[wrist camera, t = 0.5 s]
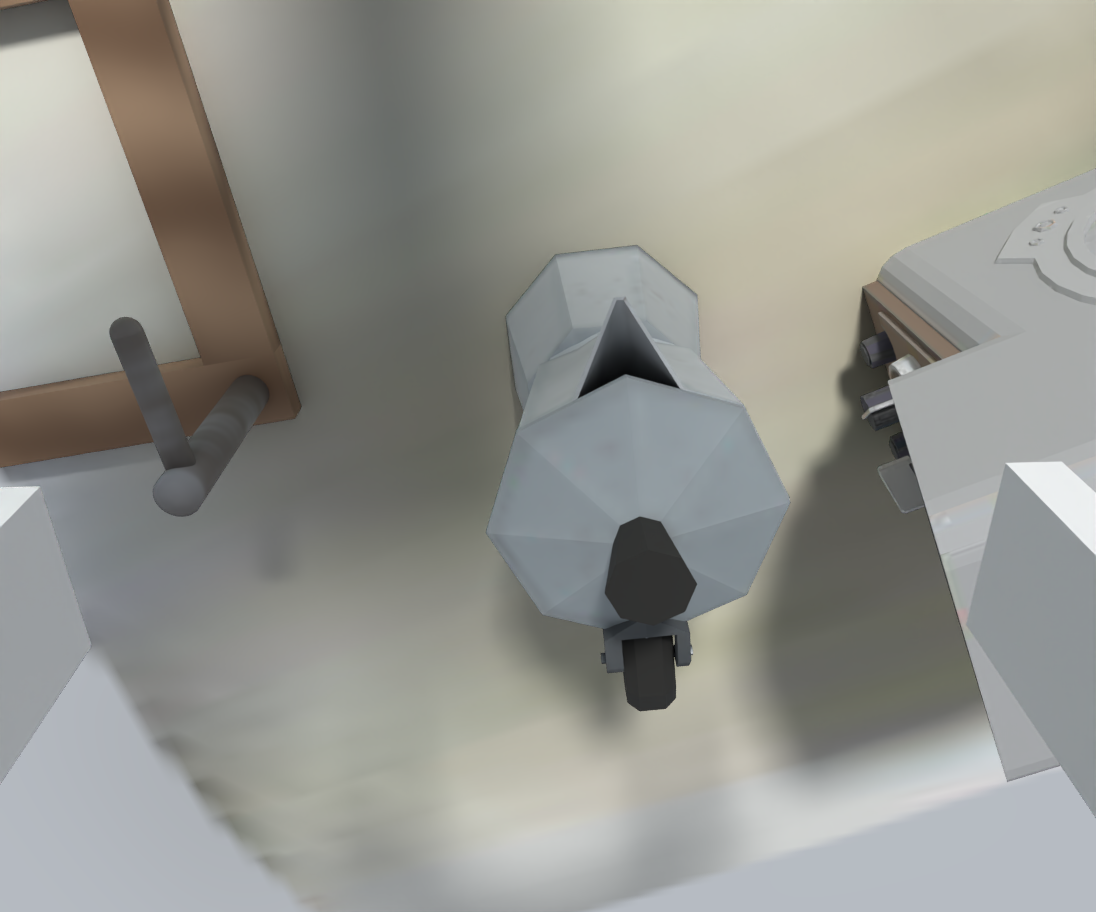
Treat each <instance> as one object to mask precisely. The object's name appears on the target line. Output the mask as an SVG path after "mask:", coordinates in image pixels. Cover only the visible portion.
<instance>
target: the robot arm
mask: <svg viewBox="0 0 1096 912" xmlns="http://www.w3.org/2000/svg"><path fill="white" fill-rule="evenodd" d="M966 625H967V627H968V628H969V630H970V631H971V633H972V634H973V636H974V637H975V638H976V640H977V641H978V643H979V644H980V646H981V647H982V649H983V650H984V652H985V653H986V655H987V656H988V658H989V659H990V661H991V662H992V664H993V665H994V667H995V668H996V670H997V671H998V673H999V674H1000V676H1001V677H1002V679H1003V680H1004V682H1005V683H1006V685H1007V686H1008V688H1009V689H1010V691H1011V692H1012V694H1013V695H1014V697H1015V698H1016V700H1017V701H1018V703H1019V704H1020V706H1021V707H1022V709H1023V710H1024V712H1025V713H1026V715H1027V716H1028V718H1029V719H1030V721H1031V722H1032V724H1033V725H1034V727H1035V728H1036V730H1037V731H1038V733H1039V734H1040V736H1041V737H1042V739H1043V740H1044V742H1045V743H1046V745H1047V746H1048V748H1049V749H1050V751H1051V752H1052V754H1053V755H1054V756H1055V758H1056V759H1057V761H1058V762H1059V764H1060V765H1061V767H1062V768H1063V770H1064V771H1065V773H1066V774H1067V776H1068V777H1069V779H1070V780H1071V782H1072V783H1073V785H1074V786H1075V788H1076V789H1077V791H1078V792H1079V794H1080V795H1081V797H1082V798H1083V800H1084V801H1085V803H1086V804H1087V806H1088V807H1089V809H1090V810H1091V812H1092V813H1093V815H1094V816H1095V818H1096V492H1094V491H1093V490H1092V489H1091V488H1090V487H1089V486H1088V485H1087V484H1086V483H1085V482H1084V481H1082V480H1081V479H1080V478H1079V477H1078V476H1077V475H1076V474H1075V473H1074V472H1073V471H1072V470H1070V469H1069V468H1068V467H1067V466H1066V465H1065V464H1064V463H1063V462H1062V461H1061V462H1020V463H1005V467H1004V471H1003V475H1002V479H1001V483H1000V488H999V492H998V496H997V500H996V504H995V508H994V512H993V516H992V520H991V524H990V528H989V533H988V537H987V541H986V545H985V549H984V553H983V557H982V561H981V565H980V569H979V573H978V578H977V582H976V586H975V590H974V594H973V598H972V602H971V606H970V610H969V614H968V618H967V623H966ZM91 647H92V645H91V642H90V639H89V636H88V632H87V629H86V626H85V623H84V620H83V617H82V614H81V611H80V608H79V605H78V602H77V598H76V595H75V592H74V589H73V586H72V583H71V580H70V577H69V574H68V571H67V568H66V564H65V561H64V558H63V555H62V552H61V549H60V546H59V543H58V540H57V537H56V534H55V530H54V527H53V524H52V521H51V518H50V515H49V512H48V509H47V506H46V503H45V500H44V496H43V493H42V490H41V487H40V486H32V487H0V784H1V783H2V781H3V780H4V778H5V777H6V775H7V774H8V772H9V770H10V769H11V768H12V766H13V765H14V763H15V762H16V760H17V759H18V757H19V756H20V754H21V752H22V751H23V749H24V748H25V747H26V745H27V744H28V742H29V741H30V739H31V737H32V736H33V734H34V733H35V731H36V730H37V728H38V727H39V725H40V724H41V722H42V721H43V719H44V718H45V716H46V715H47V713H48V712H49V710H50V709H51V707H52V705H53V704H54V703H55V701H56V700H57V698H58V697H59V695H60V694H61V692H62V691H63V689H64V688H65V686H66V684H67V683H68V682H69V680H70V679H71V677H72V675H73V674H74V672H75V671H76V669H77V668H78V666H79V665H80V663H81V662H82V660H83V659H84V657H85V656H86V654H87V653H88V651H89V650H90V648H91Z"/></svg>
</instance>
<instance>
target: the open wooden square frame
mask: <svg viewBox="0 0 1096 912" xmlns="http://www.w3.org/2000/svg"><path fill="white" fill-rule="evenodd" d="M42 1H47V0H0V10H3V9H8V8H13V7H18V6H23V5H28V4H32V3H37V2H42ZM68 2H69V5H70V7H71V10H72V13H73V15H74V18H75V21H76V24H77V26H78V29H79V32H80V34H81V37H82V40H83V42H84V45H85V48H86V50H87V53H88V56H89V58H90V61H91V64H92V67H93V69H94V72H95V75H96V77H97V80H98V83H99V85H100V88H101V91H102V93H103V96H104V99H105V101H106V104H107V107H108V109H109V112H110V115H111V118H112V120H113V123H114V126H115V128H116V131H117V134H118V136H119V139H120V142H121V144H122V147H123V150H124V152H125V155H126V158H127V160H128V163H129V166H130V169H131V171H132V174H133V177H134V179H135V182H136V185H137V187H138V190H139V193H140V195H141V198H142V201H143V203H144V206H145V209H146V211H147V214H148V217H149V220H150V222H151V225H152V228H153V230H154V233H155V236H156V238H157V241H158V244H159V246H160V249H161V252H162V254H163V257H164V260H165V263H166V265H167V268H168V271H169V273H170V276H171V279H172V281H173V284H174V287H175V289H176V292H177V295H178V297H179V300H180V303H181V305H182V308H183V311H184V314H185V316H186V319H187V322H188V324H189V327H190V330H191V332H192V335H193V338H194V340H195V343H196V346H197V348H198V351H199V354H200V356H201V358H195V359H189V360H184V361H178V362H172V363H166V364H160V365H157V362H156V360H155V357H154V355H153V352H152V350H151V347H150V345H149V342H148V340H147V337H146V335H145V332H144V330H143V328H142V326H141V324H140V323H139V322H138V321H137V320H135V319H133V318H129V317H122V318H119V319H117V320H115V321H114V322H113V323H112V325H111V327H110V331H109V332H110V337H111V340H112V342H113V345H114V347H115V350H116V352H117V354H118V357H119V359H120V362H121V364H122V366H123V369H124V371H120V372H114V373H108V374H102V375H96V376H91V377H85V378H79V379H73V380H67V381H61V382H56V383H50V384H44V385H38V386H32V387H27V388H21V389H15V390H9V391H3V392H0V468H1V467H7V466H13V465H19V464H25V463H31V462H37V461H43V460H49V459H55V458H61V457H67V456H73V455H79V454H85V453H91V452H97V451H103V450H109V449H115V448H121V447H127V446H133V445H139V444H145V443H151V442H154V443H155V446H156V448H157V450H158V453H159V455H160V458H161V460H162V462H163V465H164V467H165V472H164V473H163V474H162V476H161V477H160V478H159V480H158V481H157V482H156V484H155V485H154V488H153V497H154V500H155V502H156V503H157V505H158V506H159V507H160V508H161V509H162V510H163V511H165V512H167V513H169V514H171V515H174V516H189V515H191V514H193V513H195V512H196V511H197V510H198V509H199V507H200V506H201V504H202V503H203V501H204V500H205V498H206V497H207V495H208V493H209V492H210V490H211V489H212V487H213V486H214V484H215V483H216V481H217V479H218V478H219V476H220V475H221V473H222V472H223V470H224V469H225V467H226V466H227V464H228V462H229V461H230V459H231V458H232V456H233V455H234V453H235V452H236V450H237V449H238V447H239V445H240V444H241V442H242V441H243V439H244V438H245V436H246V435H247V433H248V432H249V430H250V428H251V427H252V426H254V425H260V424H266V423H272V422H278V421H284V420H290V419H295V418H296V416H297V414H298V412H299V411H300V409H301V404H300V401H299V398H298V395H297V392H296V389H295V386H294V383H293V380H292V377H291V374H290V371H289V368H288V365H287V361H286V358H285V355H284V352H283V349H282V346H281V343H280V340H279V337H278V334H277V331H276V328H275V325H274V322H273V319H272V316H271V313H270V309H269V306H268V303H267V300H266V297H265V294H264V291H263V288H262V285H261V282H260V279H259V276H258V273H257V270H256V267H255V264H254V261H253V257H252V254H251V251H250V248H249V245H248V242H247V239H246V236H245V233H244V230H243V227H242V224H241V221H240V218H239V215H238V212H237V209H236V205H235V202H234V199H233V196H232V193H231V190H230V187H229V184H228V181H227V178H226V175H225V172H224V169H223V166H222V163H221V160H220V157H219V153H218V150H217V147H216V144H215V141H214V138H213V135H212V132H211V129H210V126H209V123H208V120H207V117H206V114H205V111H204V108H203V104H202V101H201V98H200V95H199V92H198V89H197V86H196V83H195V80H194V77H193V74H192V71H191V68H190V65H189V62H188V59H187V56H186V52H185V49H184V46H183V43H182V40H181V37H180V34H179V31H178V28H177V25H176V22H175V19H174V16H173V13H172V10H171V7H170V4H169V0H68ZM187 436H191V438H190V439H189V440H187V438H186V437H187Z"/></svg>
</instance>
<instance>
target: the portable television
mask: <svg viewBox="0 0 1096 912" xmlns="http://www.w3.org/2000/svg"><path fill="white" fill-rule="evenodd" d="M863 290H864V294H865V297H866V301H867V304H868V307H869V311H870V314H871V318H872V321H873V324H874V328H875V331H876V335H874V336H872V337H870V338H868V339H866V340H863V341H862V342H861V345H860V350H861V353H862V356H863V359H864V361H865V362H866V364H867V365H868V366H870V367H871V368H875V367H878V366H881V365H884V364H885V365H886V368H887V372H888V375H889V379H890V380H888V384H889V385H887V386H884V387H882V388H880V389H878V390H876V391H873V392H870V393H868V394H865V395H863V396H861V398H860V399H861V403H862V407H863V410H864V412H865V413H864V414H863V415H862V416H861V417H862V419H866V418H867V419H868V421H869V423H870V425H871V426H872V428H873V429H874V430H875V431H877V430H879V429H882V428H884V427H887V426H889V425H892V424H895V423H897V422H900V425H901V428H902V432H900V433H898V434H896V435H894V436H891V437H890V441H889V445H890V448H891V451H892V453H893V455H894V457H895V459H896V460H894V461H891V462H889V463H886V464H883V465H881V466H879V467H878V468H877V469H878V473H879V475H880V477H881V479H882V481H883V482H884V484H885V486H886V487H887V489H888V491H889V492H890V494H891V496H892V497H893V499H894V501H895V502H896V504H897V505H898V507H899V509H900V510H901V512H902V513H908V512H911V511H914V510H917V509H920V508H922V507H925V509H926V513H927V516H928V520H929V523H930V526H931V530H932V533H933V536H934V540H935V543H936V546H937V550H938V553H939V557H940V560H941V563H942V567H943V570H944V573H945V577H946V580H947V584H948V587H949V590H950V594H951V597H952V600H953V604H954V607H955V610H956V614H957V617H958V620H959V624H960V627H961V630H962V634H963V637H964V640H965V643H966V647H967V650H968V653H969V657H970V660H971V663H972V667H973V670H974V673H975V677H976V680H977V683H978V687H979V690H980V693H981V696H982V700H983V703H984V706H985V710H986V713H987V716H988V720H989V723H990V726H991V730H992V733H993V736H994V740H995V743H996V746H997V750H998V753H999V756H1000V759H1001V763H1002V766H1003V769H1004V773H1005V776H1006V779H1007V782H1008V781H1012V780H1015V779H1018V778H1022V777H1025V776H1028V775H1031V774H1035V773H1038V772H1041V771H1045V770H1048V769H1051V768H1054V767H1058V766H1061V765H1060V764H1059V762H1058V761H1057V759H1056V758H1055V756H1054V755H1053V754H1052V752H1051V751H1050V749H1049V748H1048V746H1047V745H1046V743H1045V742H1044V740H1043V739H1042V737H1041V736H1040V734H1039V733H1038V731H1037V730H1036V728H1035V727H1034V725H1033V724H1032V722H1031V721H1030V719H1029V718H1028V716H1027V715H1026V713H1025V712H1024V710H1023V709H1022V707H1021V706H1020V704H1019V703H1018V701H1017V700H1016V698H1015V697H1014V695H1013V694H1012V692H1011V691H1010V689H1009V688H1008V686H1007V685H1006V683H1005V682H1004V680H1003V679H1002V677H1001V676H1000V674H999V673H998V671H997V670H996V668H995V667H994V665H993V664H992V662H991V661H990V659H989V658H988V656H987V655H986V653H985V652H984V650H983V649H982V647H981V646H980V644H979V643H978V641H977V640H976V638H975V637H974V636H973V634H972V633H971V631H970V630H969V628H968V627H967V625H966V623H967V618H968V614H969V610H970V606H971V602H972V598H973V594H974V590H975V586H976V582H977V578H978V573H979V569H980V565H981V561H982V557H983V553H984V549H985V545H986V541H987V537H988V533H989V528H990V524H991V520H992V516H993V512H994V508H995V504H996V500H997V496H998V492H999V488H1000V483H1001V479H1002V475H1003V471H1004V467H1005V463H1020V462H1061V461H1062V462H1063V463H1064V464H1065V465H1066V466H1067V467H1068V468H1069V469H1070V470H1072V471H1073V472H1074V473H1075V474H1076V475H1077V476H1078V477H1079V478H1080V479H1081V480H1082V481H1084V482H1085V483H1086V484H1087V485H1088V486H1089V487H1090V488H1091V489H1092V490H1093V491H1094V492H1096V169H1093V170H1091V171H1088V172H1086V173H1084V174H1081V175H1079V176H1076V177H1074V178H1072V179H1069V180H1067V181H1064V182H1062V183H1060V184H1057V185H1055V186H1052V187H1050V188H1048V189H1045V190H1043V191H1040V192H1038V193H1036V194H1033V195H1031V196H1028V197H1026V198H1024V199H1021V200H1019V201H1016V202H1014V203H1012V204H1009V205H1007V206H1004V207H1002V208H1000V209H997V210H995V211H992V212H990V213H988V214H985V215H983V216H980V217H978V218H976V219H973V220H971V221H968V222H966V223H964V224H961V225H959V226H956V227H954V228H952V229H949V230H947V231H944V232H942V233H940V234H937V235H935V236H932V237H930V238H928V239H925V240H923V241H920V242H918V243H916V244H913V245H911V246H908V247H906V248H904V249H903V250H901V251H899V252H898V253H896V254H894V255H893V256H892V257H891V258H890V259H889V260H888V261H887V262H886V263H885V264H884V265H883V266H882V268H881V271H880V273H879V275H878V278H877V281H875V282H873V283H871V284H868V285H866V286H863Z"/></svg>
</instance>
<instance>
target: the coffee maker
mask: <svg viewBox="0 0 1096 912" xmlns="http://www.w3.org/2000/svg"><path fill="white" fill-rule="evenodd" d="M506 323H507V330H508V338H509V345H510V352H511V359H512V366H513V373H514V381H515V388H516V391H517V394H518V397H519V400H520V402H521V405H522V408H523V411H524V412H523V415H522V418H521V421H520V424H519V427H518V429H517V430H516V433H515V437H514V440H513V443H512V446H511V450H510V453H509V456H508V460H507V463H506V466H505V470H504V473H503V476H502V480H501V483H500V486H499V489H498V493H497V496H496V499H495V503H494V506H493V509H492V513H491V516H490V519H489V522H488V526H487V529H486V534H487V535H488V537H489V538H490V540H491V541H492V543H493V544H494V545H495V547H496V548H497V550H498V551H499V553H500V554H501V556H502V557H503V559H504V560H505V561H506V563H507V564H508V566H509V567H510V569H511V570H512V572H513V573H514V574H515V576H516V577H517V579H518V580H519V582H520V583H521V585H522V586H523V588H524V589H525V590H526V592H527V593H528V595H529V596H530V598H531V599H532V601H533V602H534V603H535V605H536V606H537V608H538V609H539V611H540V612H541V614H542V615H545V616H550V617H554V618H559V619H563V620H568V621H572V622H576V623H581V624H585V625H590V626H594V627H599V628H603V635H604V645H605V653H601V662H602V664H605V663H606V665H607V673H614V672H623V674H624V683H625V690H626V696H627V702H628V703H629V704H630V705H632V706H633V707H635V708H636V709H637V710H639V711H647V710H658V709H666V708H667V707H668V706H669V705H670V704H671V703H672V702H673V701H674V700H675V698H676V680H675V666H674V657H675V661H676V666H677V667H678V666H688V665H689V664H690V662H691V655H693V650H692V645H690V632H689V627H688V623H687V621H688V620H690V619H692V618H694V617H697V616H699V615H701V614H704V613H706V612H708V611H711V610H713V609H715V608H717V607H720V606H722V605H724V604H727V603H729V602H731V601H734V600H736V599H738V598H740V597H743V596H745V595H747V593H748V591H749V589H750V587H751V584H752V582H753V580H754V578H755V576H756V574H757V572H758V570H759V568H760V565H761V563H762V561H763V559H764V557H765V555H766V553H767V551H768V549H769V547H770V544H771V542H772V540H773V538H774V536H775V534H776V532H777V530H778V528H779V525H780V523H781V521H782V519H783V517H784V515H785V513H786V511H787V509H788V506H789V504H790V500H789V498H790V497H789V495H788V493H787V491H786V489H785V487H784V485H783V483H782V481H781V479H780V477H779V475H778V473H777V471H776V469H775V467H774V465H773V463H772V461H771V459H770V457H769V455H768V453H767V451H766V449H765V447H764V445H763V443H762V441H761V439H760V437H759V435H758V433H757V431H756V429H755V427H754V425H753V423H752V421H751V419H750V417H749V415H748V413H747V411H746V408H745V406H744V405H743V403H742V402H741V401H740V400H739V399H738V398H737V397H736V396H735V395H734V394H733V393H732V392H731V391H730V390H729V389H728V388H727V386H726V385H725V384H724V383H723V382H722V381H721V380H720V379H719V378H718V377H717V376H716V375H715V374H714V373H713V372H712V371H711V369H710V368H709V367H708V366H707V365H706V364H705V363H704V362H703V361H702V360H701V355H700V336H699V317H698V299H697V294H696V293H695V292H693V291H692V290H691V289H690V288H689V287H687V286H686V285H685V284H684V283H682V282H681V281H680V280H679V279H678V278H676V277H675V276H674V275H673V274H671V273H670V272H669V271H668V270H667V269H665V268H664V267H663V266H662V265H661V264H659V263H658V262H657V261H656V260H654V259H653V258H652V257H651V256H650V255H648V254H647V253H646V252H645V251H643V250H642V249H641V248H640V247H639V246H637V245H634V246H626V247H617V248H608V249H599V250H591V251H582V252H573V253H565V254H556V255H555V256H554V257H553V258H552V259H551V260H550V262H549V263H548V264H547V265H546V267H545V268H544V269H543V270H542V272H541V273H540V274H539V275H538V277H537V278H536V279H535V280H534V282H533V283H532V284H531V285H530V287H529V288H528V289H527V290H526V291H525V293H524V294H523V295H522V296H521V298H520V299H519V300H518V301H517V303H516V304H515V305H514V306H513V308H512V309H511V310H510V311H509V313H508V314H507V315H506ZM672 635H675V645H673V637H672Z"/></svg>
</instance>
